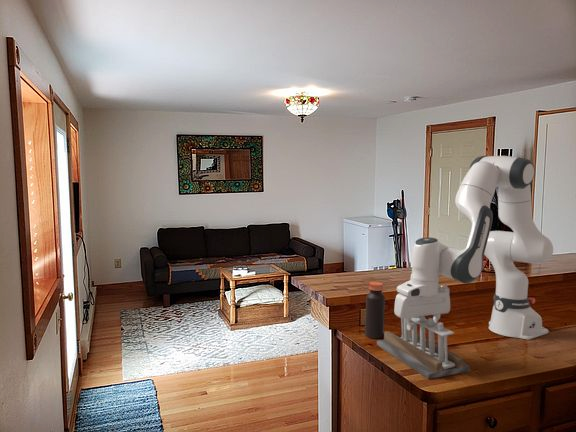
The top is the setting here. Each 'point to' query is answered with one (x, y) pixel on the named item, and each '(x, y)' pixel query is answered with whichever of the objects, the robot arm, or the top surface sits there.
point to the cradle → (420, 356)
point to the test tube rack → (432, 328)
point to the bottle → (375, 311)
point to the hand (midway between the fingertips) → (421, 328)
